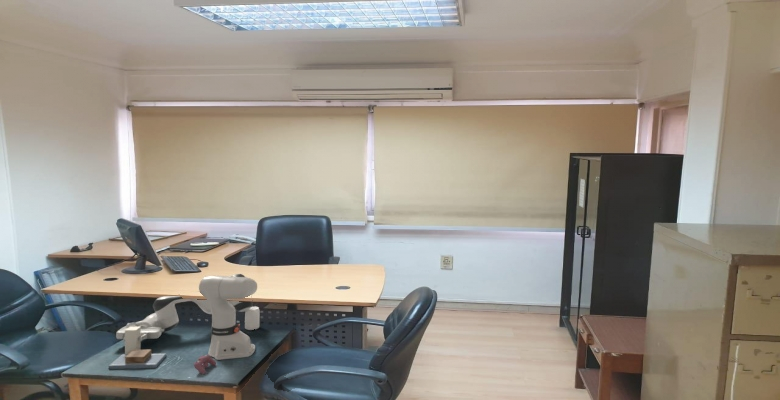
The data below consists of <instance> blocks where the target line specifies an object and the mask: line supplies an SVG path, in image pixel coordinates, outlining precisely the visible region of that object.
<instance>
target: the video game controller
mask: <svg viewBox="0 0 780 400" xmlns="http://www.w3.org/2000/svg"><path fill="white" fill-rule="evenodd" d="M209 365H211V366H214V367H215V366H216V365H217V361H216V360H215V359H213V357H212V356H210V355H209V354H205V355H202V356H200V357H199V358H197V360H196V361H195V362H194V364H193V367H194V369H195V370H197V371H198V372H199V374H202V375H205V374H206V372H207V371H206V369H205V368H208V367H209Z"/></svg>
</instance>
